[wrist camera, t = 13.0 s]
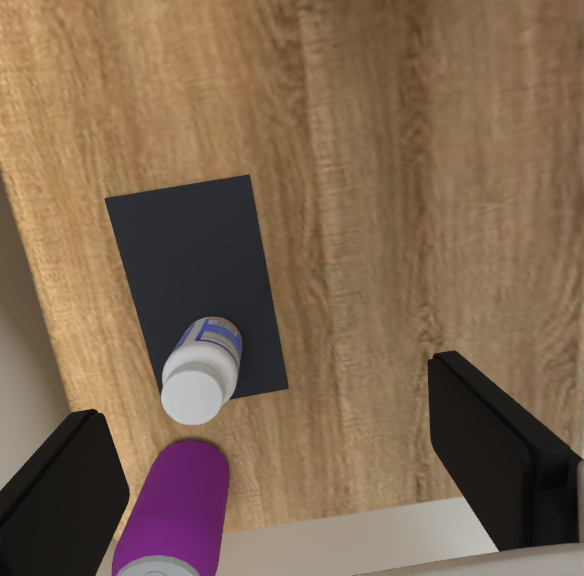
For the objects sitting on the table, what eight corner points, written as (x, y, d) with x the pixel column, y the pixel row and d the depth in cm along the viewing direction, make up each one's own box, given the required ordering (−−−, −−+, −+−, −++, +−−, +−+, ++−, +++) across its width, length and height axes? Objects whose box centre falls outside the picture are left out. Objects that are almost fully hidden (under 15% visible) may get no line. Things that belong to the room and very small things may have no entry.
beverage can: (238, 489, 36) (226, 624, 25) (166, 506, 36) (119, 649, 25) (220, 427, 34) (196, 540, 23) (144, 444, 34) (81, 567, 23)
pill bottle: (198, 377, 33) (170, 448, 23) (173, 327, 31) (133, 379, 22) (252, 357, 33) (246, 420, 23) (230, 306, 31) (214, 349, 22)
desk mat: (106, 198, 29) (104, 198, 28) (249, 174, 29) (249, 174, 29) (166, 409, 34) (164, 411, 33) (288, 386, 34) (288, 388, 34)
